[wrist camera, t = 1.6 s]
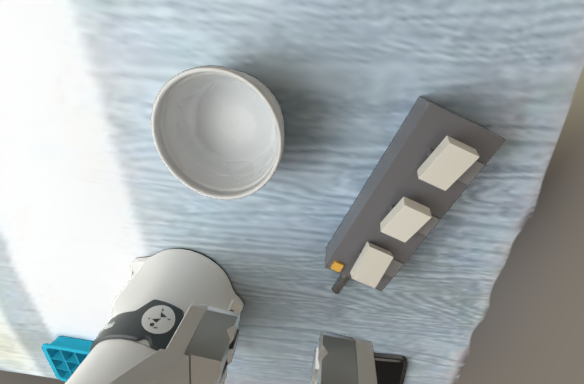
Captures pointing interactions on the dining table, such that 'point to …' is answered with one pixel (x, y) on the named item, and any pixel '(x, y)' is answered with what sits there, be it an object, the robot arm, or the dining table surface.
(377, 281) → the rocker
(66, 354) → the ice cube tray
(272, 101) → the ramekin
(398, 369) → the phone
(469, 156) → the block
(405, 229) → the rocker
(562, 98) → the dining table surface
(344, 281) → the power strip
